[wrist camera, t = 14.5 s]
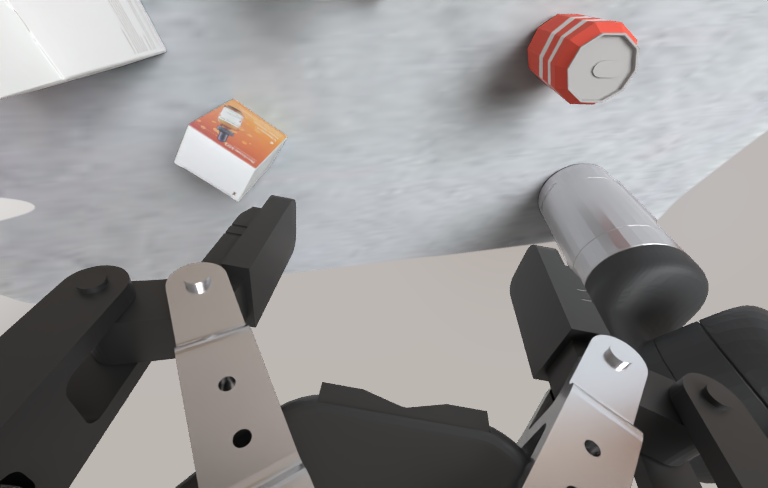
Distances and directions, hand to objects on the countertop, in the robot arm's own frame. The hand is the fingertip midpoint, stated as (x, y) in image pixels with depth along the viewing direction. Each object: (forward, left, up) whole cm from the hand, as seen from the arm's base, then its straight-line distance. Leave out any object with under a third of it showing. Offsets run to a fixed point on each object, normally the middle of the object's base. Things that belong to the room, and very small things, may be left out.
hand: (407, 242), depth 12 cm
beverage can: (-14, -4, -34) cm, 37 cm away
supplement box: (+35, +2, -34) cm, 49 cm away
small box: (+20, +12, -34) cm, 42 cm away
